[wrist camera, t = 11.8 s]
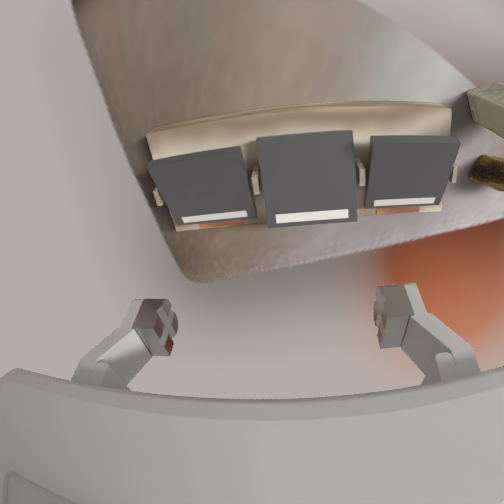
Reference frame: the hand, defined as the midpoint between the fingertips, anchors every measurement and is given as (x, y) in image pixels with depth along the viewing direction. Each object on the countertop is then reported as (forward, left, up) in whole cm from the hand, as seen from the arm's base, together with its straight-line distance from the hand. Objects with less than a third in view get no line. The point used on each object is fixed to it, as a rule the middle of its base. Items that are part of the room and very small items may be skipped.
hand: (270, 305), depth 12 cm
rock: (+8, +32, -29) cm, 44 cm away
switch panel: (+6, +3, -29) cm, 30 cm away
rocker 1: (+6, -9, -23) cm, 25 cm away
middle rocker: (+6, +3, -23) cm, 24 cm away
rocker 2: (+6, +14, -23) cm, 28 cm away
